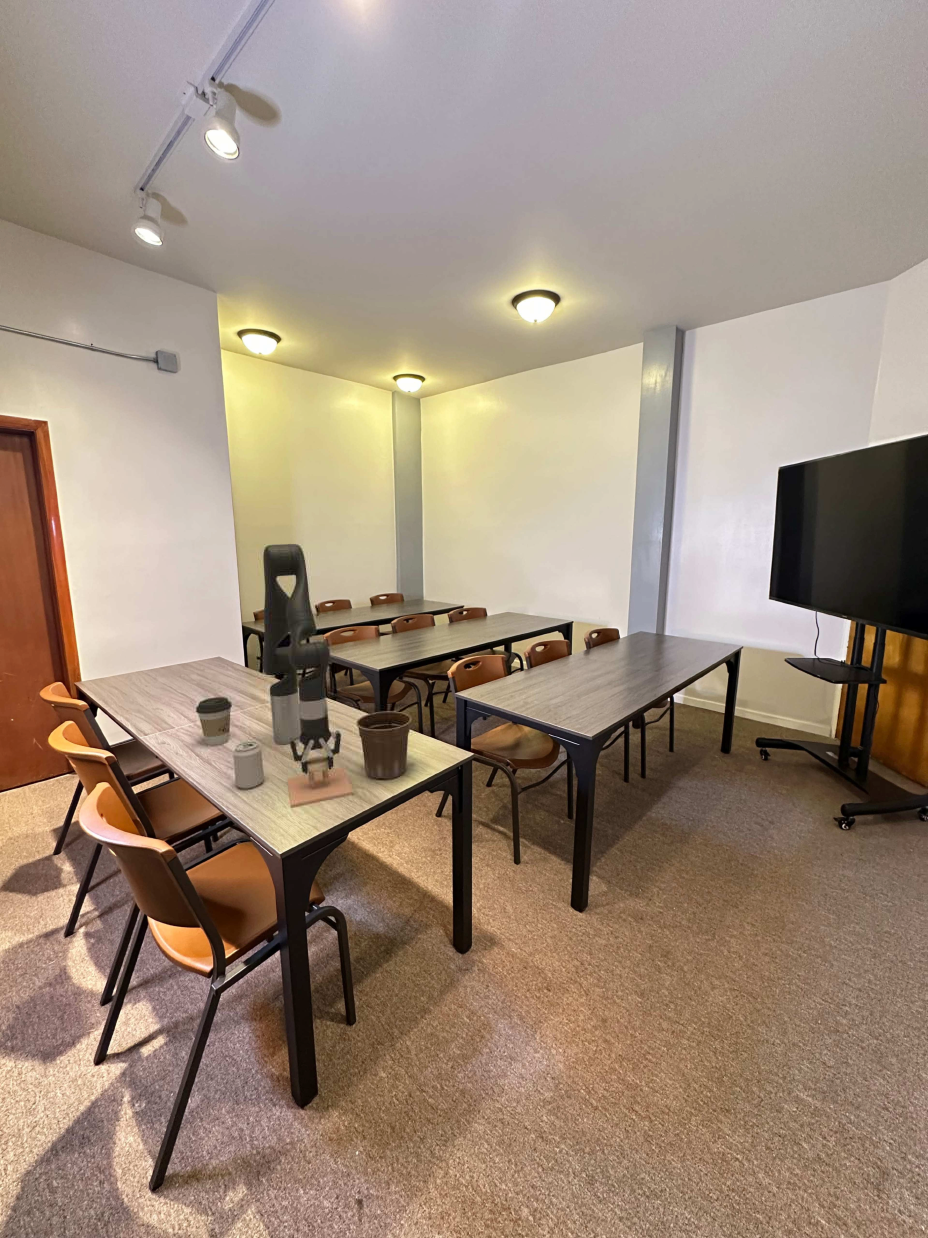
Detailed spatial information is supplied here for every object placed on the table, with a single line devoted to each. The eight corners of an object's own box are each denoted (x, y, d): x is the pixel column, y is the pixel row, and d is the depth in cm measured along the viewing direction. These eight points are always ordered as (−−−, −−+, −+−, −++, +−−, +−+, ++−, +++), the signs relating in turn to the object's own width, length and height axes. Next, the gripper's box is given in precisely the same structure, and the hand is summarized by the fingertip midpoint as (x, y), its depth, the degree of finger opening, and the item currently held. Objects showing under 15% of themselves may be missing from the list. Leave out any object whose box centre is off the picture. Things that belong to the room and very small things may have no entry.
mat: (287, 781, 142) (287, 778, 142) (343, 770, 148) (343, 767, 148) (291, 807, 127) (291, 805, 127) (352, 794, 133) (352, 791, 133)
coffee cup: (220, 749, 165) (216, 707, 163) (191, 747, 168) (187, 705, 165) (242, 736, 176) (238, 696, 174) (214, 734, 179) (210, 695, 176)
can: (268, 777, 144) (264, 739, 143) (258, 789, 137) (254, 749, 135) (242, 778, 144) (239, 739, 142) (231, 790, 137) (227, 750, 135)
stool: (306, 779, 139) (305, 758, 138) (328, 775, 141) (326, 754, 140) (308, 789, 133) (307, 767, 132) (331, 784, 136) (329, 763, 135)
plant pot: (388, 754, 158) (386, 707, 156) (424, 768, 148) (422, 717, 146) (348, 773, 146) (345, 722, 143) (384, 789, 136) (381, 734, 133)
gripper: (338, 705, 140) (341, 760, 143) (285, 713, 135) (290, 770, 137) (342, 713, 134) (346, 771, 136) (287, 722, 128) (291, 782, 131)
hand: (317, 770), depth 137 cm, fingers closed on stool, 6 cm apart
